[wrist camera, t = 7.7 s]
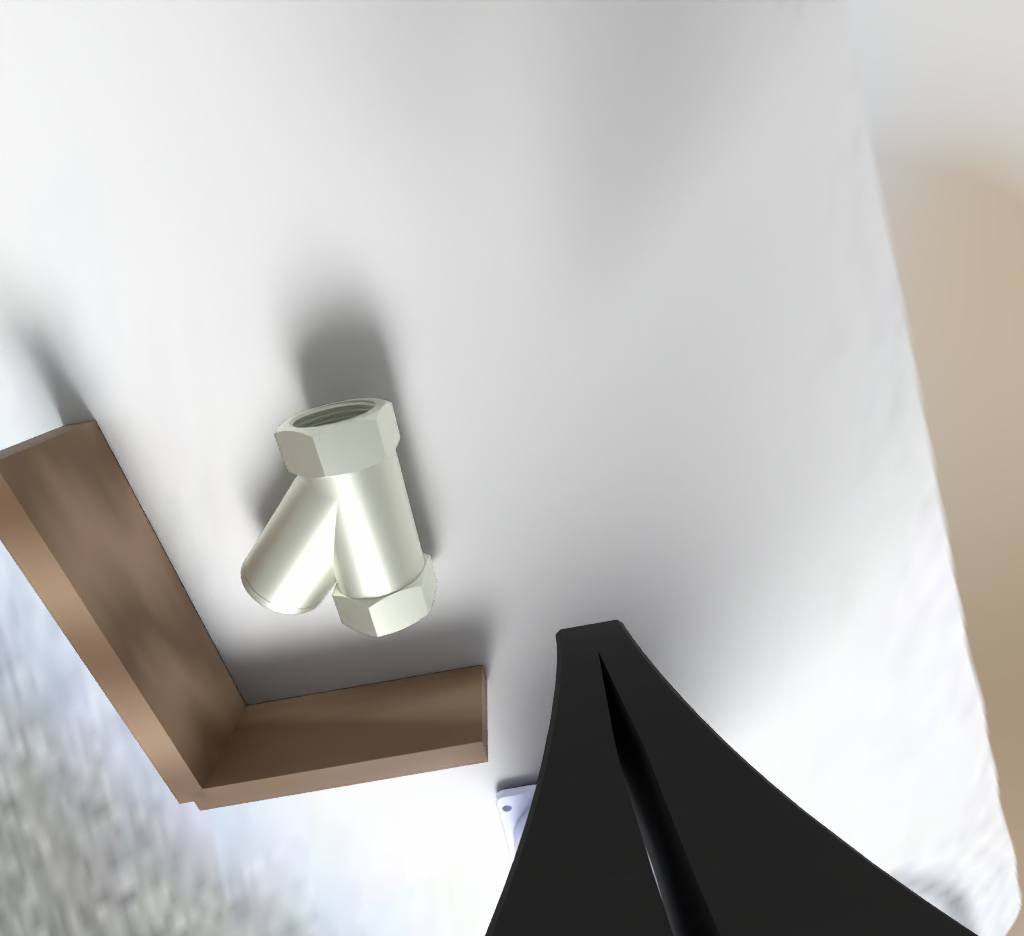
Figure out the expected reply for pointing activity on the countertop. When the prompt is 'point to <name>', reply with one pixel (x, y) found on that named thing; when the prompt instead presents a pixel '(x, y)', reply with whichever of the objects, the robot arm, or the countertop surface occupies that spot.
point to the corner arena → (203, 650)
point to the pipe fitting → (343, 523)
